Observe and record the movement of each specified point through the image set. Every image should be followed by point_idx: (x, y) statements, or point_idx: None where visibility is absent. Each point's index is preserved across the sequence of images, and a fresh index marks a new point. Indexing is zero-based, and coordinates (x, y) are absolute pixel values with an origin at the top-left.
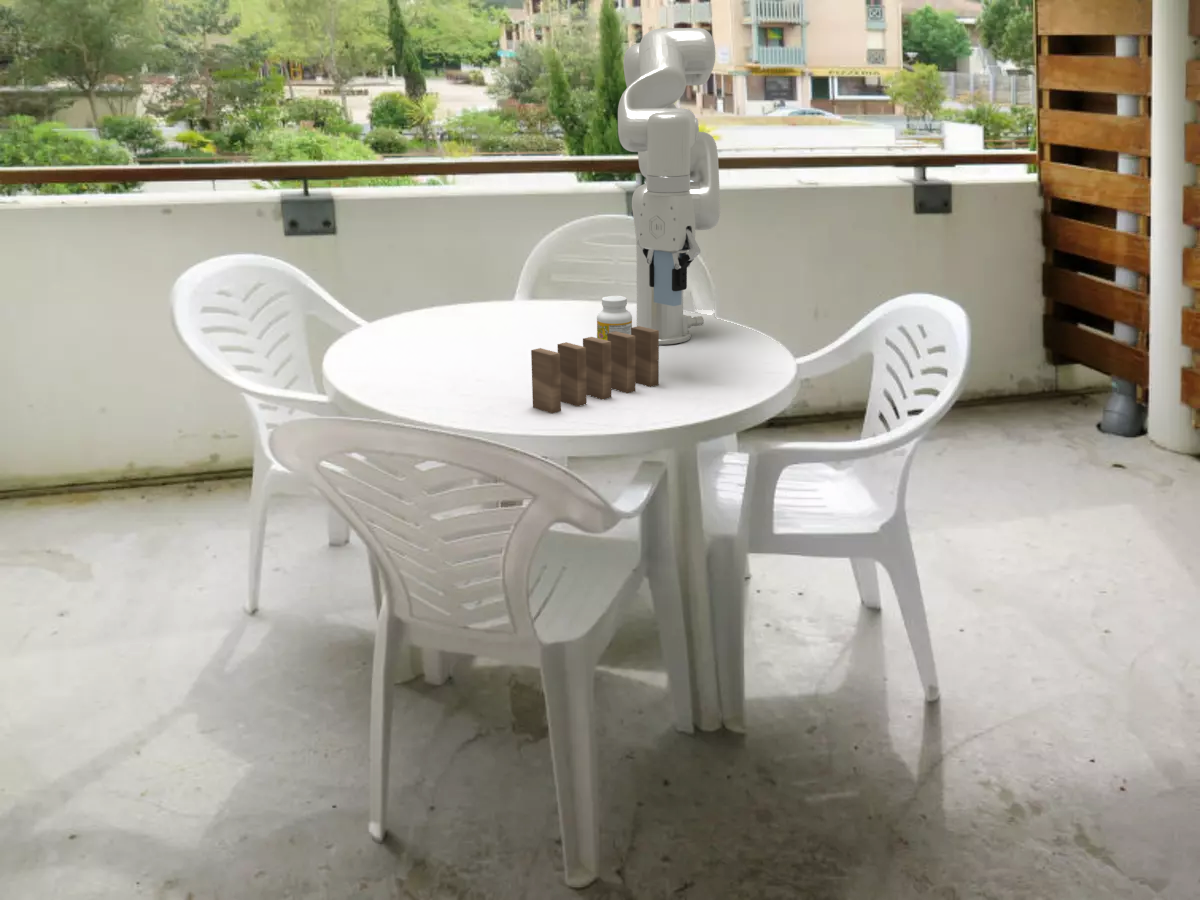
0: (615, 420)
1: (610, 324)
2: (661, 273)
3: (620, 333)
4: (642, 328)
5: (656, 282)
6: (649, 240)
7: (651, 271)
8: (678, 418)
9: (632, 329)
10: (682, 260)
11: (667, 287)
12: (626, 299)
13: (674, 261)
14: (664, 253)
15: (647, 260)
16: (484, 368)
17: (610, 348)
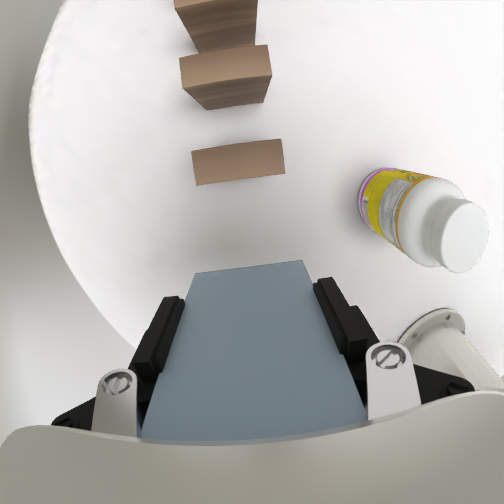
0: (98, 16)
1: (413, 185)
2: (267, 339)
3: (236, 68)
4: (249, 160)
5: (301, 303)
6: (395, 502)
7: (338, 318)
8: (52, 99)
9: (274, 139)
10: (91, 419)
11: (222, 305)
12: (442, 262)
13: (128, 403)
14: None
15: (403, 356)
16: (467, 43)
17: (178, 14)
